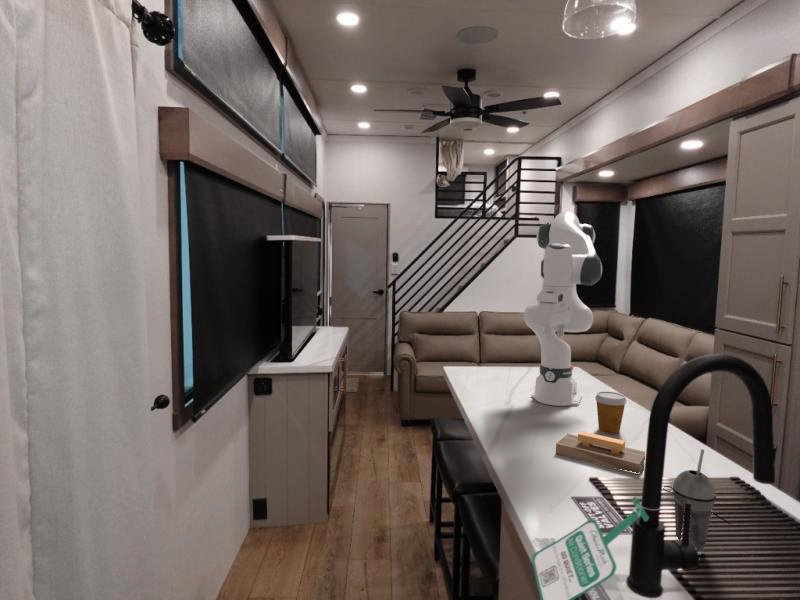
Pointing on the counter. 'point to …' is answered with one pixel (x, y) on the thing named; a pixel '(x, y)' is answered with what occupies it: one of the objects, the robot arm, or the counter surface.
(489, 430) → the counter surface
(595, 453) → the rail
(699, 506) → the beverage cup
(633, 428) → the counter surface
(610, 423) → the disposable coffee cup
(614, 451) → the orange piece
